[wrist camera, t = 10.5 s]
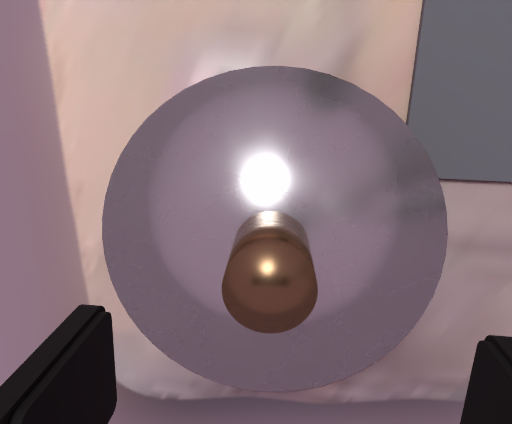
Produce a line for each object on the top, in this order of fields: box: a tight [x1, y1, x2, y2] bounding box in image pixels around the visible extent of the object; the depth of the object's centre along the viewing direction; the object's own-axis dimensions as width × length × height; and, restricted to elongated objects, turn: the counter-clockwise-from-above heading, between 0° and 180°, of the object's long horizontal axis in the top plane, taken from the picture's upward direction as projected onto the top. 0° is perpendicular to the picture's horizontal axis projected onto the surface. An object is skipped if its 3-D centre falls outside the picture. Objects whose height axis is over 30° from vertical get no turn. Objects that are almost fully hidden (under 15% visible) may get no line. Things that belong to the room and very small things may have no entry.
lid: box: [102, 66, 448, 392], centre depth 18 cm, size 16×16×5 cm
